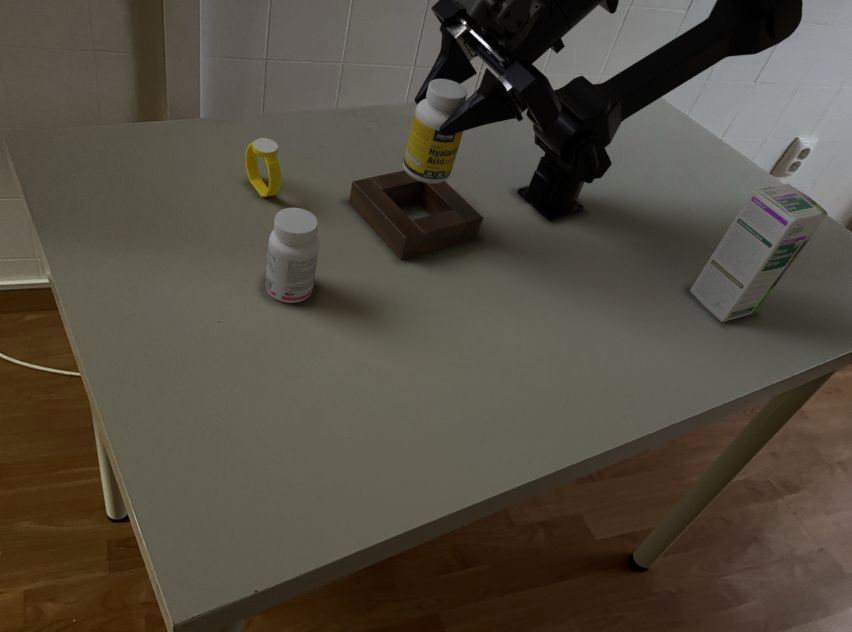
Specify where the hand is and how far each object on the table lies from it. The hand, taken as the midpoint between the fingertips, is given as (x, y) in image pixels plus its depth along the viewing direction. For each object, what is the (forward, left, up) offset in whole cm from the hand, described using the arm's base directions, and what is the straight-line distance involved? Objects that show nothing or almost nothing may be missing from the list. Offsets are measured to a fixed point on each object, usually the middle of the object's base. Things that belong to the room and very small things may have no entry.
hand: (428, 118), depth 73 cm
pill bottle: (+18, +5, -13) cm, 23 cm away
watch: (+13, -11, -13) cm, 21 cm away
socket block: (-1, 0, -13) cm, 13 cm away
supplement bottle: (-1, 0, -7) cm, 7 cm away
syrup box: (-28, +26, -13) cm, 41 cm away
